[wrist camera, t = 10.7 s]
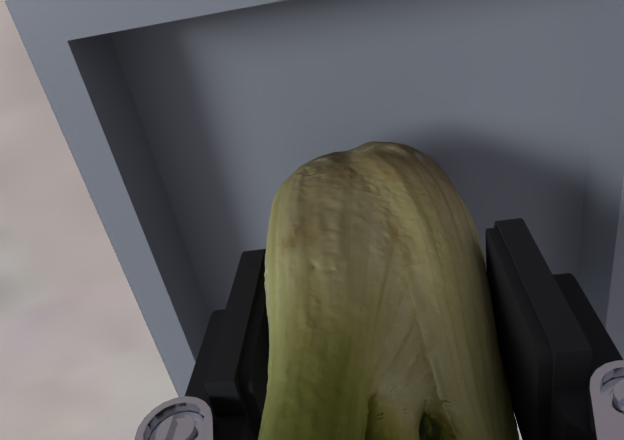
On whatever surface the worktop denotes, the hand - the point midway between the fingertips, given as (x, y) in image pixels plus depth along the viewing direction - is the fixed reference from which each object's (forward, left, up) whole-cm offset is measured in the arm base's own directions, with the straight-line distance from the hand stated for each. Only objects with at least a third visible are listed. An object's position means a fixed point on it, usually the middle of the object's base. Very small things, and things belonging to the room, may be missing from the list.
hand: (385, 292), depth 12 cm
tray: (0, 0, -5) cm, 5 cm away
